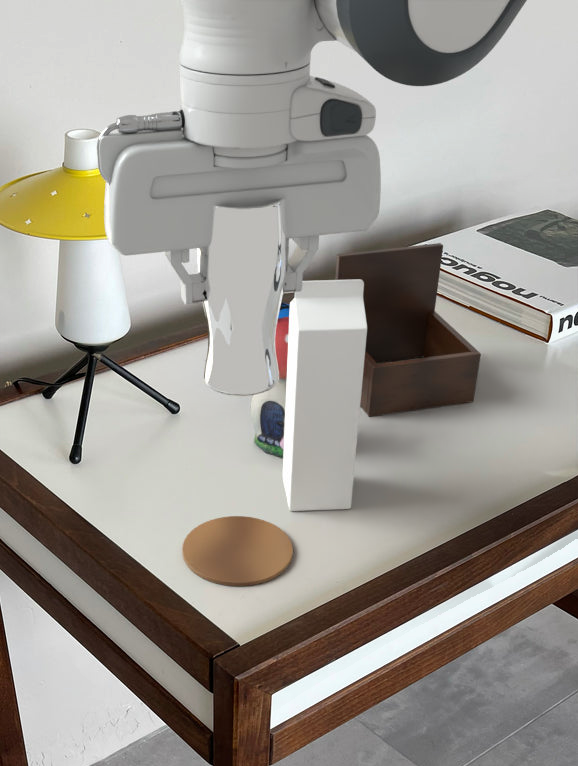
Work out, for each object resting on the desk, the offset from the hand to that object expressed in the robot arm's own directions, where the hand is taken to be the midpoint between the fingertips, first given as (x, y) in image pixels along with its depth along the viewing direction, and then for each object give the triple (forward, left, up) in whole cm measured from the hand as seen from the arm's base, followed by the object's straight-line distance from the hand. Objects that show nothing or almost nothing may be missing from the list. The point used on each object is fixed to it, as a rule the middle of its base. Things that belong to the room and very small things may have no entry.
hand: (242, 295), depth 78 cm
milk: (-10, -7, -25) cm, 28 cm away
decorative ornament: (-10, -17, -25) cm, 32 cm away
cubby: (-27, -26, -25) cm, 45 cm away
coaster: (0, 0, -25) cm, 25 cm away
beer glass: (0, 0, -7) cm, 7 cm away
